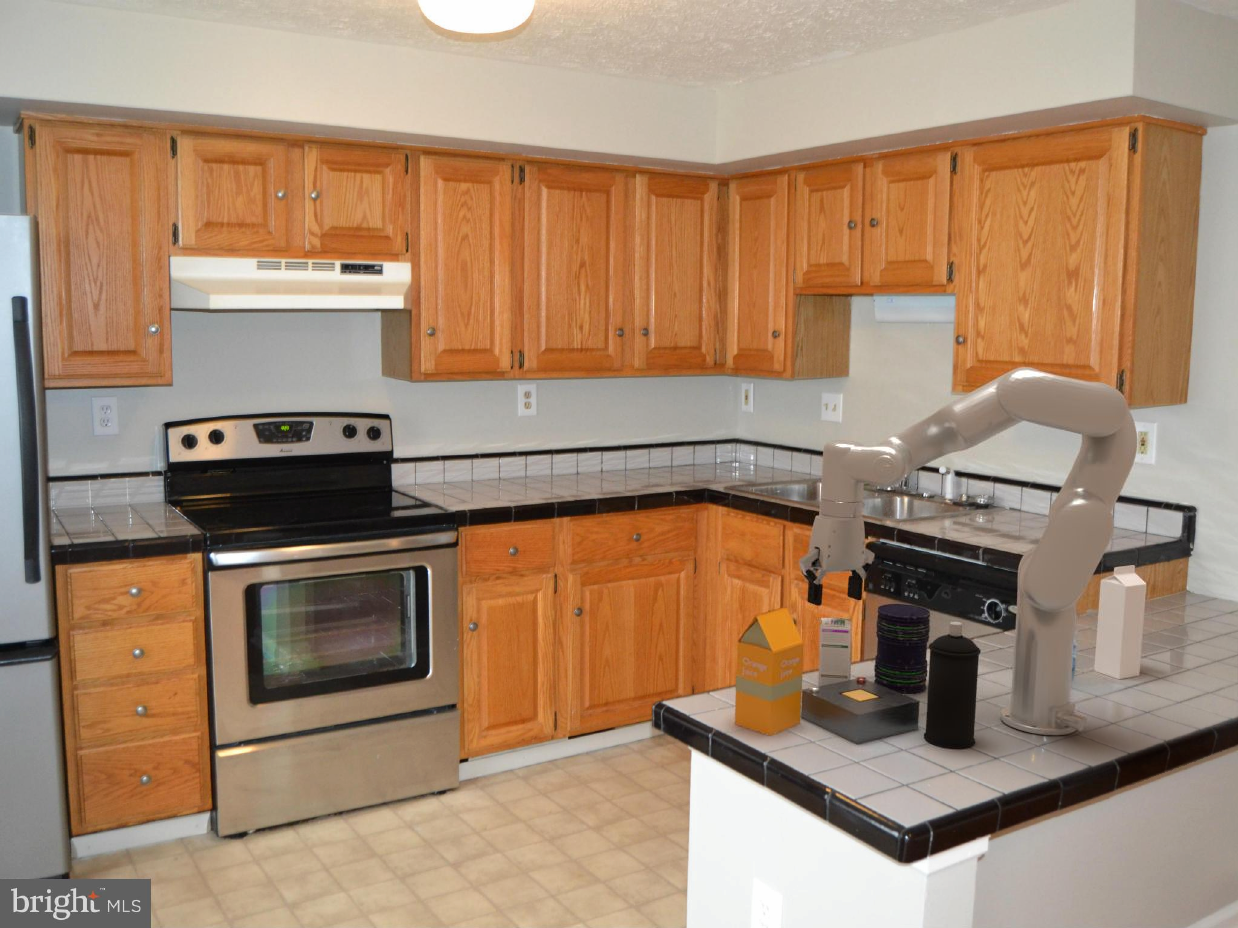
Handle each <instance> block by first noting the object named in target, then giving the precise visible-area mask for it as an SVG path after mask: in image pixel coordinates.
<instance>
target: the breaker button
mask: <svg viewBox="0 0 1238 928" xmlns="http://www.w3.org/2000/svg"><path fill="white" fill-rule="evenodd" d="M842 695H843V696H845V697H848V698H850V699H852V700H855V701H857V702H859V703H860V702H865V701H869V700H874V699H878V698H879V697H878V696H875V695H873V694H871V693H868V692H866V691H863V690H861V689H860V690H855V691H850V692H846V693H842Z"/></svg>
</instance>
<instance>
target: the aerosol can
mask: <svg viewBox="0 0 1238 928" xmlns="http://www.w3.org/2000/svg"><path fill="white" fill-rule="evenodd" d="M962 634H963V623H962V622H959V621H950V623H949V631H948V634H945V635H940V636H939V637H937V638H935V639H934V640H933V641H931V643H929V644H928V649H929V665H928V683H927V684H928V685H927V700H926V701H927V703H926V716H925V717H926V720H925V732H924V733H923V738H924V740H926V742H927V743H930V744H931V745H933V746H936V747H940V748H944V749H951V750H963V749H969V748H971V747H973V746H974V745H975V744H976V739H975V728H976V727H975V726H976V725H975V724H976V723H975V722H976V709H977V692H978V691H977V689H978V677H979V676H978V675H979V659H980V657H979V656H980V654H981V649H980V648H979V647H978V645H977V644H976V643H975V642H974V641H973V640H972V639H970V638H968V637H966V636H964V635H962Z"/></svg>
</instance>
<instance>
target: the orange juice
mask: <svg viewBox="0 0 1238 928" xmlns="http://www.w3.org/2000/svg"><path fill="white" fill-rule="evenodd" d="M803 659H804V641H803V639H802V637H801V635H800V633H799V630H798V628H797V627H796V624H795V622H794V621H793V618H792V616H791V614H790V611H789V610H788V607H787V606H783V607H780V608H776V609H772V610H768V611H766V612H761V613H758V614H756V615H755V616H754V617H753V619H752V620H751V622H750V623H749V625H748V626H747V627H746V629H745V631H744V632H742V635H741V637H740V638H738V640H737V644H736V671H735V673H736V674H735V701H734V702H735V705H734V706H735V707H734V711H735V712H734V725H736V724H737V726H739V725H740V726H739V727H742V726H744V727H743V728H745V727H746V728H745V729H748V728H750V729H749V730H751V729H752V731H754V730H756V731H755V732H757V731H759V732H758V733H760V732H761V733H760V734H763V733H764V734H763V735H766V734H768V735H769V736H768V735H767V736H768V737H771V736H773V735H775V733H776V734H778V733H781V732H782V731H785V730H787V729H790V728H793V727H795V726H797V725H799V724H801V706H802V690H803V667H804V666H803V665H804V663H803V662H804V660H803ZM780 731H781V732H780ZM772 734H773V735H772ZM770 735H771V736H770Z"/></svg>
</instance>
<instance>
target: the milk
mask: <svg viewBox="0 0 1238 928" xmlns="http://www.w3.org/2000/svg"><path fill="white" fill-rule="evenodd" d="M1135 571H1136V565H1133V564H1132V565H1125V566H1117V567H1116V566H1115V567H1114V569H1113V575H1109V576H1107V577H1105V578H1102V579H1100V586H1099V587H1100V589H1099V599H1098V600H1099V604H1098V616H1097V625H1096V626H1097V627H1096V628H1097V630H1096V642H1095V643H1096V644H1095V655H1094V656H1095V657H1094V669H1093V671H1094V672H1096V673H1100V674H1101V675H1102V674H1103V675H1104V676H1108V677H1111V678H1113V679H1116V680H1122V679H1128V678H1129V679H1130V678H1134V677H1139V676H1140V672H1141V671H1140V670H1141V659H1142V658H1141V657H1142V645H1143V634H1144V633H1143V632H1144V622H1145V607H1146V595H1147V583H1146V581H1144V580H1143V579H1142V578H1141V577H1140V576H1139V575H1138V574H1137V573H1136V572H1135Z"/></svg>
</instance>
